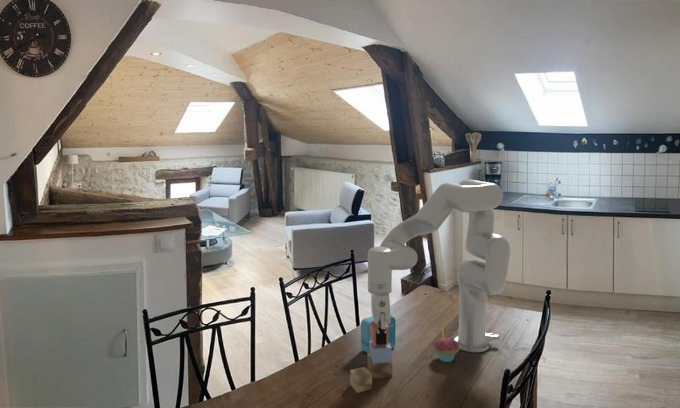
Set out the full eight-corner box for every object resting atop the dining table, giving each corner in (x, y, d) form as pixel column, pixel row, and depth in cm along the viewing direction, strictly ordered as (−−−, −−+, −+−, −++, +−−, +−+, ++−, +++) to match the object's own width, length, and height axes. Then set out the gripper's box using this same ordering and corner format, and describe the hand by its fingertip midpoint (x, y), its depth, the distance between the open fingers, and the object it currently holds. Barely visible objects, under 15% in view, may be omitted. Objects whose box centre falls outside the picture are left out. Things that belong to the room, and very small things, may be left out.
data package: (367, 356, 172) (367, 323, 170) (360, 351, 176) (360, 319, 174) (395, 347, 178) (395, 316, 176) (388, 342, 182) (388, 312, 180)
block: (364, 381, 156) (364, 366, 155) (372, 389, 152) (371, 374, 151) (350, 385, 154) (350, 370, 153) (357, 393, 150) (357, 377, 149)
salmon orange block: (386, 338, 162) (386, 320, 161) (388, 344, 157) (388, 327, 156) (370, 338, 162) (370, 321, 161) (373, 345, 157) (372, 327, 156)
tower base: (388, 366, 165) (388, 352, 164) (392, 377, 158) (392, 363, 158) (367, 367, 165) (367, 353, 164) (370, 378, 158) (370, 364, 157)
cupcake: (444, 367, 164) (445, 333, 162) (428, 356, 172) (428, 323, 170) (464, 360, 168) (465, 327, 166) (447, 350, 176) (448, 318, 174)
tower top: (387, 353, 164) (387, 339, 163) (391, 362, 158) (391, 347, 157) (369, 354, 163) (369, 340, 162) (373, 363, 157) (373, 349, 156)
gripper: (396, 295, 148) (396, 352, 151) (387, 277, 165) (386, 328, 168) (371, 296, 148) (371, 353, 151) (364, 277, 164) (364, 329, 168)
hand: (379, 339), depth 159 cm, fingers closed on salmon orange block, 5 cm apart
